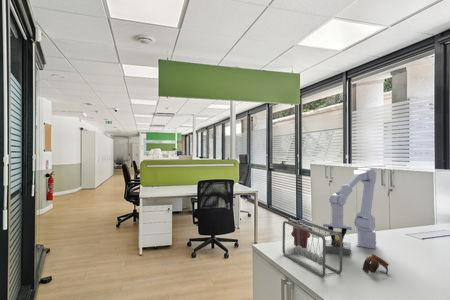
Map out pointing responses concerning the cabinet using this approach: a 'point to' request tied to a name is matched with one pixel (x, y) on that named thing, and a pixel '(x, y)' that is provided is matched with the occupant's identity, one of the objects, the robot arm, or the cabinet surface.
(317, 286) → the cabinet surface
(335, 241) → the bushing
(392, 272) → the cabinet surface
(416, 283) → the cabinet surface
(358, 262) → the cabinet surface
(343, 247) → the block
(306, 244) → the mechanical component
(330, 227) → the robot arm
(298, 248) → the newton's cradle
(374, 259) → the brown sunglasses
